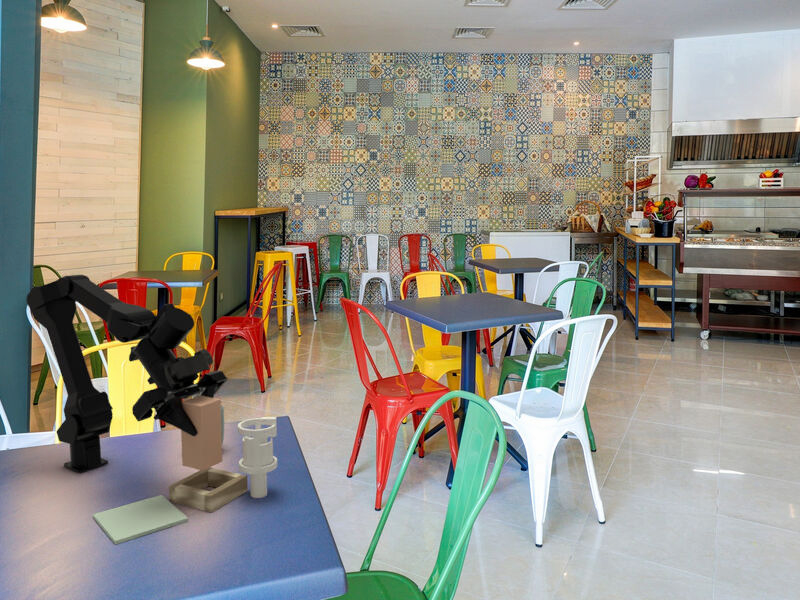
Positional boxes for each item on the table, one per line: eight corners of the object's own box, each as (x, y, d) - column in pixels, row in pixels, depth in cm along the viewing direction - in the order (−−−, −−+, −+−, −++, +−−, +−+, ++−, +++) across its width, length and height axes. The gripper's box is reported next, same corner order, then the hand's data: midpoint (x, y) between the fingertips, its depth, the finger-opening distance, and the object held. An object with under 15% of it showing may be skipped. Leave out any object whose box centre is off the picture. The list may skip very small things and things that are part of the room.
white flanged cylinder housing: (277, 501, 117) (275, 423, 115) (238, 504, 115) (236, 425, 113) (278, 485, 124) (276, 411, 122) (241, 487, 122) (239, 413, 120)
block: (182, 465, 116) (180, 402, 114) (202, 456, 120) (200, 395, 119) (202, 470, 113) (200, 406, 112) (222, 461, 118) (220, 399, 116)
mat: (92, 517, 110) (92, 514, 110) (161, 497, 118) (161, 494, 118) (115, 544, 101) (115, 541, 101) (187, 521, 109) (187, 517, 109)
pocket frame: (169, 501, 116) (168, 485, 116) (207, 481, 125) (207, 466, 125) (211, 512, 112) (210, 496, 112) (247, 490, 121) (247, 475, 121)
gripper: (140, 346, 107) (189, 419, 104) (219, 329, 124) (264, 392, 120) (111, 385, 112) (158, 456, 108) (191, 364, 128) (233, 425, 125)
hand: (206, 430), depth 115 cm, fingers closed on block, 5 cm apart
